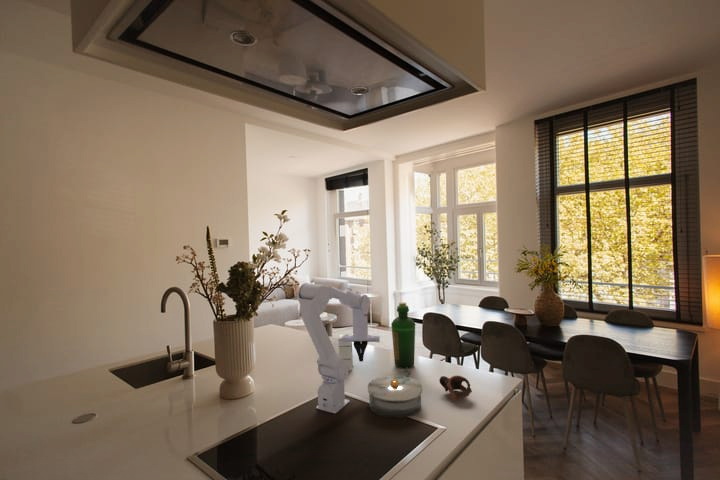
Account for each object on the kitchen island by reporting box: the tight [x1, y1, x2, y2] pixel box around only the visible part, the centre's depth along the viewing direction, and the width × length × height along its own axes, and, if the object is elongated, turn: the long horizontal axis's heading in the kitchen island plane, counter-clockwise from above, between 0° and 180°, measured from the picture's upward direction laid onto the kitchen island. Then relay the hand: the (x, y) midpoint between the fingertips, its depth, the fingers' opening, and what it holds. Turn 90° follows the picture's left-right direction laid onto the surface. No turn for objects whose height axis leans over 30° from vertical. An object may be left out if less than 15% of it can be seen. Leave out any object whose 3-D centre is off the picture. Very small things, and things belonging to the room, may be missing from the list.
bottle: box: [390, 302, 416, 370], centre depth 154 cm, size 11×11×28 cm
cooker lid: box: [367, 369, 423, 402], centre depth 121 cm, size 25×18×3 cm
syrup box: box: [337, 333, 354, 372], centre depth 152 cm, size 6×6×14 cm
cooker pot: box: [368, 393, 422, 419], centre depth 121 cm, size 24×18×5 cm
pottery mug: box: [438, 375, 473, 402], centre depth 123 cm, size 12×10×8 cm
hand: (361, 360), depth 132 cm, fingers closed
